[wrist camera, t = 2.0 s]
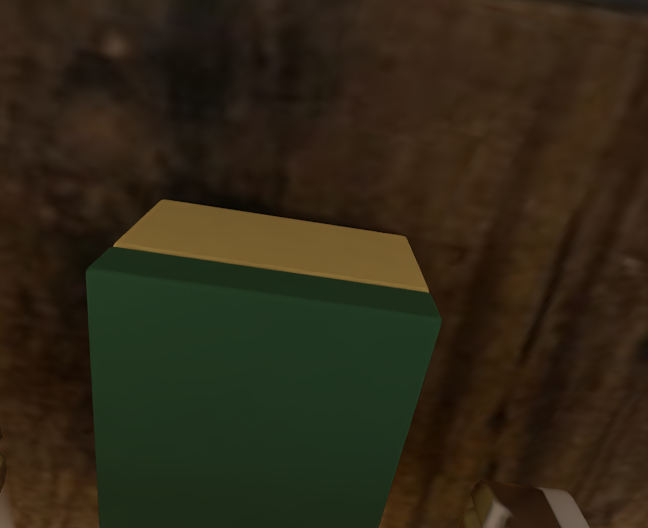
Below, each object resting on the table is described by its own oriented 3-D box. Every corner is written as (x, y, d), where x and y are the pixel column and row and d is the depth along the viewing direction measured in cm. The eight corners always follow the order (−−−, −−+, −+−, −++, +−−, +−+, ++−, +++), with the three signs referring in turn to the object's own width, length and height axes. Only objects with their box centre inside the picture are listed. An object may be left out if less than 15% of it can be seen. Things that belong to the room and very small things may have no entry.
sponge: (160, 197, 8) (82, 268, 6) (407, 235, 9) (444, 319, 6) (156, 476, 11) (102, 613, 9) (341, 498, 12) (346, 637, 9)
